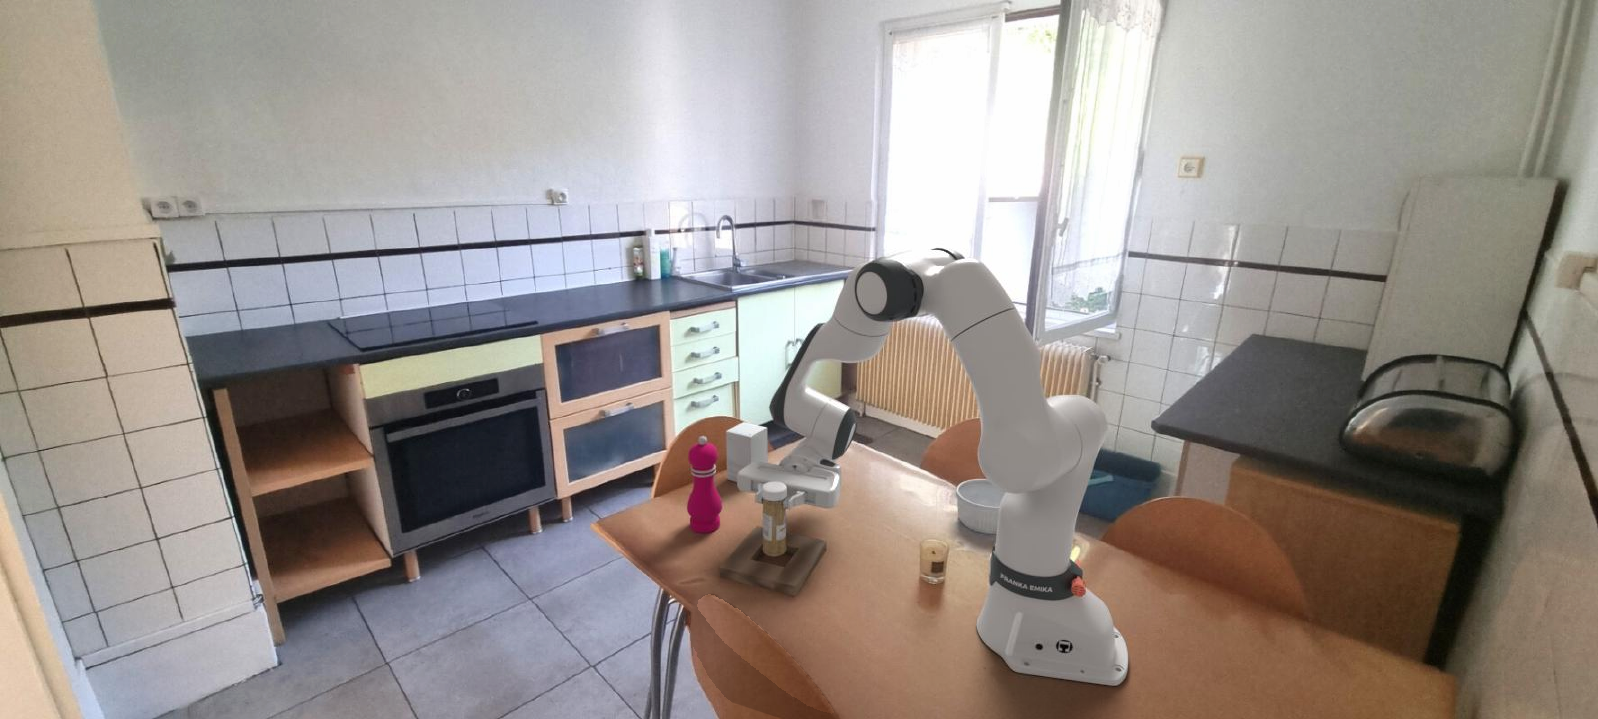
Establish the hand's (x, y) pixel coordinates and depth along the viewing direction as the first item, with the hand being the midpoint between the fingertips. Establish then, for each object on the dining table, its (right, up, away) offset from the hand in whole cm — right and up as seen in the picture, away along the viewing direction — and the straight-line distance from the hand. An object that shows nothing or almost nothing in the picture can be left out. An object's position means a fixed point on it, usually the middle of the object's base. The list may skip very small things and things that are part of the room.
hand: (772, 502), depth 122 cm
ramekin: (+45, -9, +20) cm, 50 cm away
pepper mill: (-15, -9, +17) cm, 24 cm away
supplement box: (-8, -3, +40) cm, 40 cm away
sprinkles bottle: (0, -10, +4) cm, 11 cm away
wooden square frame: (0, -12, +4) cm, 13 cm away
